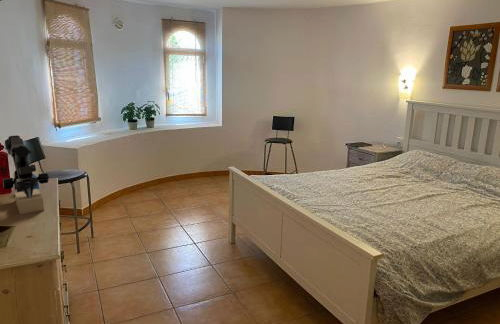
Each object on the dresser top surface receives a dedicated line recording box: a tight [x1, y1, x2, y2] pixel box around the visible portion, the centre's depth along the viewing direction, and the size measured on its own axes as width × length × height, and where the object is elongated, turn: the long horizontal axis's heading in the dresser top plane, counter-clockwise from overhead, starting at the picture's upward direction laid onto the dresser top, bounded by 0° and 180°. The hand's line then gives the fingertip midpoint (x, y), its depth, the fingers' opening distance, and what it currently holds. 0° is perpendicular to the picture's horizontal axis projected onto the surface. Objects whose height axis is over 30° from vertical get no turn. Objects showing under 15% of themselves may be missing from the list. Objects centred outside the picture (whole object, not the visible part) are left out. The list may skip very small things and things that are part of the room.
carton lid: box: [14, 188, 44, 202], centre depth 181 cm, size 14×10×5 cm
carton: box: [14, 194, 45, 216], centre depth 183 cm, size 14×10×6 cm
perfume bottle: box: [32, 173, 40, 190], centre depth 210 cm, size 6×6×12 cm
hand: (29, 196), depth 177 cm, fingers closed on carton lid
